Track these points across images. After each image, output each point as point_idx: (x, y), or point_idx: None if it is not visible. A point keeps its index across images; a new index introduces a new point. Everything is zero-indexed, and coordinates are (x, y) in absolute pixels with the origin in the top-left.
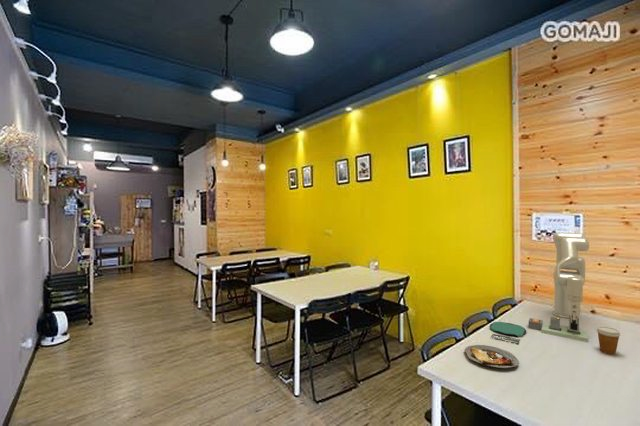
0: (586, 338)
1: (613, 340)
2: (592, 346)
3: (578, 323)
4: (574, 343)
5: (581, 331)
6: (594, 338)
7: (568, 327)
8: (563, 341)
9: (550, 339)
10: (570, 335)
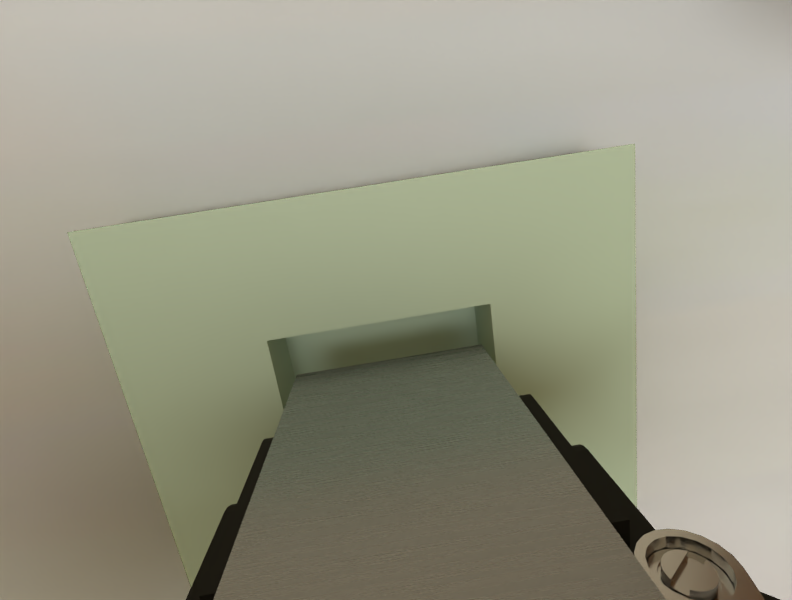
0: (630, 177)
1: None
2: (721, 71)
3: (589, 502)
4: (746, 313)
5: (235, 320)
6: (226, 89)
7: (185, 535)
8: (751, 435)
9: (771, 557)
10: (632, 421)
